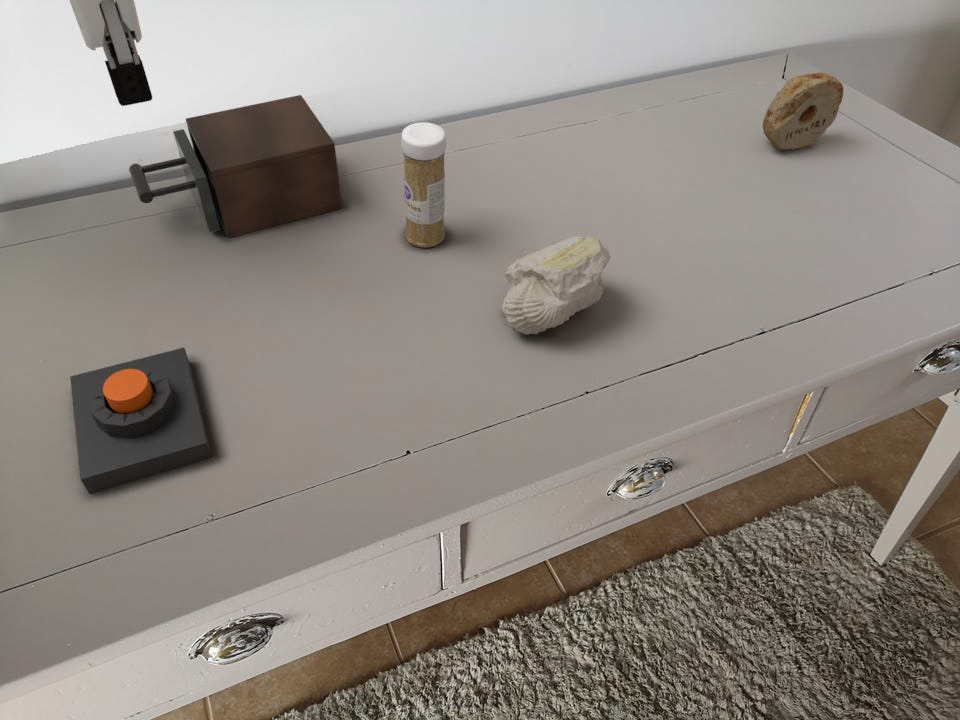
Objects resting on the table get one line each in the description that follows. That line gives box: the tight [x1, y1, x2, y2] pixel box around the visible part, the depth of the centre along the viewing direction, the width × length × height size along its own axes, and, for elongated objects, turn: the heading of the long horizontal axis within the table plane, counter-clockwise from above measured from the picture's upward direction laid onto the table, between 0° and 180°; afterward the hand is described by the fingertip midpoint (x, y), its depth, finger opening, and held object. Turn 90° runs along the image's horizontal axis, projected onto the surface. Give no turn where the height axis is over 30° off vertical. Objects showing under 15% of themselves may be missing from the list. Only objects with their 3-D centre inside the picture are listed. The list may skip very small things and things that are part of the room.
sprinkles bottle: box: [401, 121, 447, 249], centre depth 84 cm, size 5×5×13 cm
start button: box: [103, 369, 153, 413], centre depth 66 cm, size 4×4×2 cm
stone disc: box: [762, 72, 844, 151], centre depth 102 cm, size 10×4×10 cm, turn 111°
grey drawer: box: [128, 129, 221, 233], centre depth 88 cm, size 18×10×7 cm, turn 117°
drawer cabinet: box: [185, 94, 343, 239], centre depth 90 cm, size 14×12×9 cm
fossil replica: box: [501, 236, 611, 335], centre depth 78 cm, size 12×8×10 cm
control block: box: [69, 347, 213, 494], centre depth 68 cm, size 12×10×4 cm
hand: (135, 99), depth 78 cm, fingers closed
